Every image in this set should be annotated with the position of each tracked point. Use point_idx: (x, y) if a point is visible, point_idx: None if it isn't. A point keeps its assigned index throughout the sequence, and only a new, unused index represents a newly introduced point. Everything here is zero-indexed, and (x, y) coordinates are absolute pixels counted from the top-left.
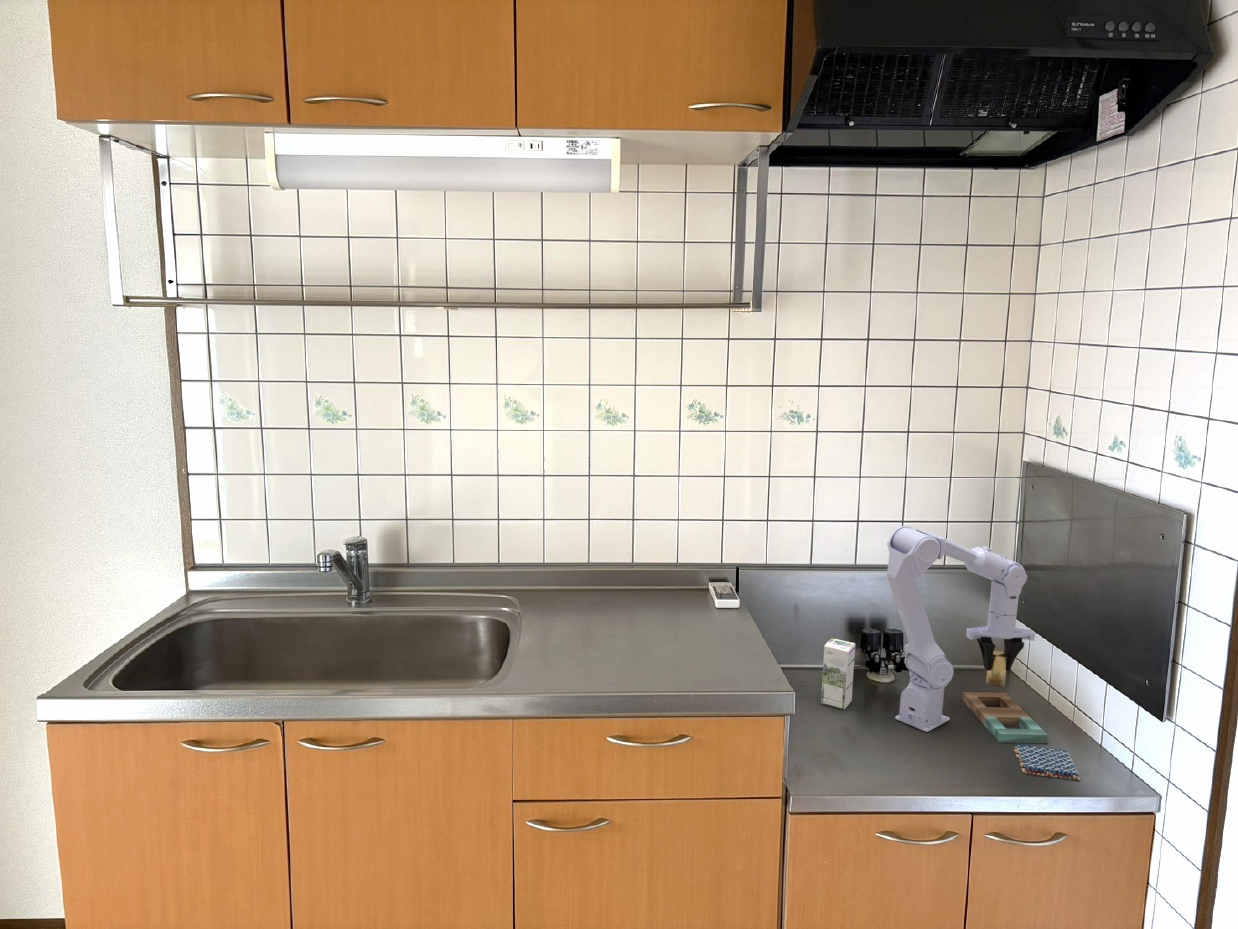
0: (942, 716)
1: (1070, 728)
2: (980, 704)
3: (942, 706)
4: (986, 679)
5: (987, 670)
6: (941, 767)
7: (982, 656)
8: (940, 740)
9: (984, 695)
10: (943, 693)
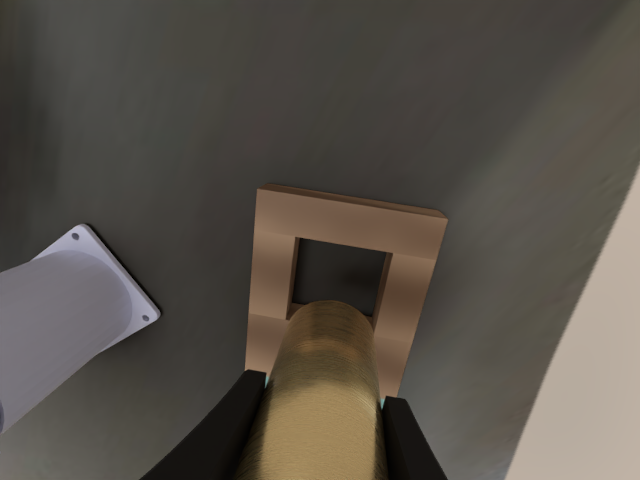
0: (138, 306)
1: (512, 407)
2: (274, 297)
3: (88, 359)
4: (290, 322)
5: (272, 368)
6: (80, 473)
7: (197, 427)
8: (106, 394)
9: (333, 231)
10: (36, 403)
